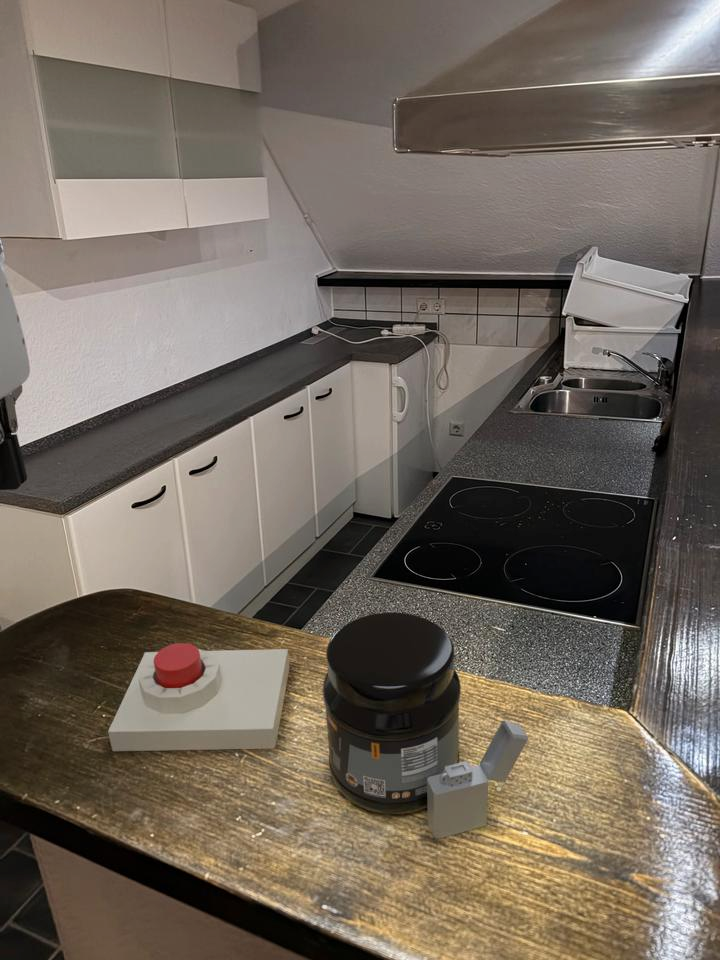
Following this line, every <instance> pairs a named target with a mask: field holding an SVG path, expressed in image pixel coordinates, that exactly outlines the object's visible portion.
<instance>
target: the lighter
mask: <svg viewBox="0 0 720 960" xmlns="http://www.w3.org/2000/svg"><path fill="white" fill-rule="evenodd" d="M528 741H529V737H528V734H527V733H526V731H525V730H524V728H523V727H522V725H521V724H520V723H519V722H513V721H508V720H501V722H500V724H499V726H498V728H497V730H496V732H495V734H494V735H493V737H492V739H491V741H490V742H489V745H488V747H487V749H486V750H485V753H484V754H483V756H482V758H481V760H480V762H479V764H474V765H470V764H469V762H468V761H467V760H466V761H461V762H459V763H457V764H453V765H449V766H445V770H444V771H443V772H442V774H439V775H435V776H431V777H428V779H427V807H426V809H427V825H428V827H429V829H430V831H431V833H432V837H433V838H434V839H436V840H439V839H443V838H446V837H450V836H454V835H458V834H462V833H465V832H468V831H472V830H477V829H479V828H483V827H486V826H487V824H488V802H489V801H488V797H489V781H493V782H501V783H505V782H506V781H507V779H508V777H509V775H510V773H511V771H512V770H513V768H514V766H515V765H516V762H517V761H518V759H519V757H520V755H521V753H522V752H523V750H524V748H525V746H526V744H527V742H528Z"/></svg>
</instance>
